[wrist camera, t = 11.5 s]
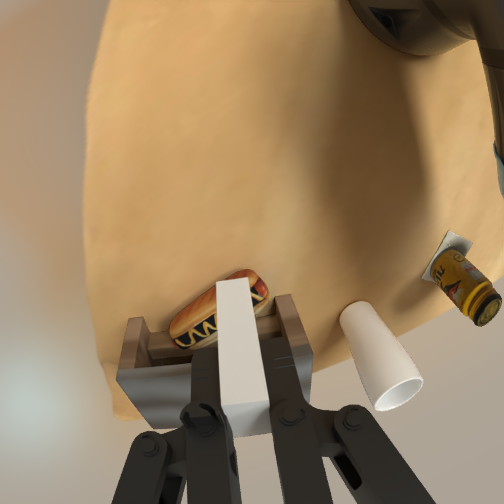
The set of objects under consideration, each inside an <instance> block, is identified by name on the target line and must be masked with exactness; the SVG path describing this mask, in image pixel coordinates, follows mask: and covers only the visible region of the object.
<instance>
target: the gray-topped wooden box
mask: <svg viewBox="0 0 504 504" xmlns="http://www.w3.org/2000/svg"><path fill="white" fill-rule="evenodd" d="M275 304H276V314H275V315H270V316H264V317H258V318H255V322H256V328H257V334H258V340H265V339H271V338H277V337H283V338H284V339H285V340H286V341H287V342H288V344H289V345H290V347H291V351H292V355H293V358H294V362H295V366H296V370H297V374H298V377H299V381H300V385H301V389H302V393H303V396H304V398H305V400H306V401H307V403H308V404H309V401H310V389H311V376H312V363H313V352H312V349H311V347H310V344H309V341H308V339H307V336H306V333H305V331H304V328H303V325H302V323H301V320H300V317H299V315H298V312H297V309H296V307H295V304H294V302H293V299H292V296H291V294H288V295H283V296H277V297H275ZM172 340H173V339H172V338H171V336H170V331H163V332H154V333H150V332H149V329H148V327H147V325H146V322H145V320H144V318H143V317H137V318H129V321H128V325H127V329H126V334H125V338H124V343H123V347H122V352H121V357H120V362H119V367H118V372H117V377H116V381H117V382H118V384H119V385H120V387H121V388H122V389H123V391H124V392H125V393H126V395H127V396H128V398H129V399H130V400H131V402H132V403H133V404H134V406H135V407H136V408H137V410H138V411H139V412H140V413H141V415H142V416H143V417H144V418H145V420H146V421H147V422H148V423H149V425H150V426H151V427H152V428H153V429H170V428H180V427H181V426H182V425H183V423H182V422H181V420H180V418H179V417H180V413H181V411H182V410H183V408H184V407H185V406H186V405H187V404H189V403H191V372H192V371H191V363H187V364H178V365H168V366H165V364H164V361H163V359H162V358H170V357H179V356H188V355H194V354H195V352H196V350H190V349H184V350H183V349H177V348H176V347H175V346H174V345H173V342H172ZM210 347H218V340H217V341H215V342H213V343H211V344H209V345H207V346H205V347H203V348H210ZM200 349H201V348H200Z"/></svg>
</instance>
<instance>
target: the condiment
mask: <svg viewBox="0 0 504 504" xmlns="http://www.w3.org/2000/svg"><path fill="white" fill-rule="evenodd" d="M472 244H473V243H472V242H470V241H468V240H466V239H465V238H463V237H461V236H459V235H457V234H455V233H453V232H451V231H448V233H447V235H446V237H445V238H444V240H443V243H442V244H441V246H440V248H439V249H438V251H437V252H436V254H435V255H434V257H433V259H432V261H431V262H430V264H429V266H428V267H427V269H426V271H425V272H424V274H423V276H422V278H421V279H423V280H427V281H431V282H435V283H437V285H438V286H439V287H440V288H441V289H442V290H443V291H444V292H445V294H446V295H447V296H448V297H449V298H450V299H451V300H452V301H453V303H454V304H455V305H456V306H457V307H458V308H459V310H460V311H461V312H462V313H463V314H464V315H465V316H469V318H470V319H471V320H472V321H473V322H474V324H475V325H477V326H481V327H482V326H483V325H486V324H487V323H488V322H489V321H491V320H492V319H493V318H494V316H495V315H496V314H497V313H498V311H499V309H500V307H501V303H502V298H501V296H500V295H499V294H498V293H497V292H496V290H495V289H494V288H493V287H492V283H491V282H490V281H489V280H488V279H487V278H486V277H485V276H484V275H483V274H482V273H481V272H480V271H479V270H478V269H477V268H476V267H475V266H474V265H473V264H472V263H470V262H469V261H468V260H467V259H466V258H465V256H466V254H467V252H468V251H469V249H470V248H471V246H472ZM449 245H450V246H449Z"/></svg>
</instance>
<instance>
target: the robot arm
mask: <svg viewBox="0 0 504 504" xmlns="http://www.w3.org/2000/svg"><path fill="white" fill-rule="evenodd" d="M349 1H350V3H351V5H352V7H353V9H354V11H355V12H356V14H357V15H358V17H359V18H360V20H361V21H362V22H363V23H364V25H365V26H366V27H367V28H368V29H369V30H370V31H371V32H372V33H373V34H374V35H375V36H376V37H378V38H379V39H380V40H381V41H383V42H384V43H386V44H387V45H389V46H390V47H392V48H394V49H396V50H398V51H401V52H403V53H407V54H411V55H419V56H423V55H439V54H443V53H445V52H447V51H449V50H451V49H453V48H455V47H457V46H459V45H461V44H463V43H465V42H467V41H469V40H477V44H478V47H479V50H480V54H481V58H482V63H483V68H484V72H485V76H486V81H487V86H488V91H489V96H490V102H491V108H492V115H493V123H494V133H495V141H494V144H493V148H494V154H495V157H496V159H497V170H498V182H499V188H500V191H501V194H502V196H503V198H504V0H349ZM216 299H217V329H218V347H210V348H201V349H197V350H196V352H195V354H194V355H193V357H192V363H191V371H192V372H191V403H189V404H187V405H186V406H185V407H184V408H183V410H182V411H181V413H180V417H179V418H180V420H181V422H182V423H183V425H182V426H181V427H180V428H178V429H175V430H173V431H170V432H167V433H164V434H159V433H157V432H155V431H146V432H143V433H141V434H139V435H138V436H137V437H136V438H135V439H134V441H133V443H132V445H131V448H130V451H129V454H128V457H127V459H126V462H125V465H124V468H123V471H122V474H121V477H120V480H119V482H118V486H117V488H116V491H115V494H114V497H113V500H112V503H111V504H181V500H182V496H183V492H184V488H185V484H186V480H187V502H188V504H242V501H241V492H240V484H239V475H238V466H237V456H236V450H235V447H234V442H233V437H234V438H236V437H245V436H252V435H260V434H267V433H272V435H273V441H274V449H275V454H276V460H277V466H278V472H279V478H280V483H281V489H282V495H283V500H284V504H333V500H332V496H331V492H330V488H329V485H328V480H327V476H326V472H325V468H324V465H323V460H322V457H329V458H330V460H331V461H332V463H333V465H334V466H335V468H336V470H337V471H338V473H339V475H340V476H341V478H342V479H343V481H344V483H345V484H346V486H347V488H348V489H349V491H350V493H351V494H352V496H353V497H354V499H355V501H356V502H357V504H436V503H435V502H434V500H433V499H432V497H431V496H430V495H429V493H428V492H427V490H426V489H425V488H424V486H423V485H422V483H421V482H420V481H419V480H418V478H417V477H416V475H415V474H414V473H413V471H412V470H411V468H410V467H409V465H408V464H407V463H406V461H405V460H404V459H403V458H402V456H401V454H400V453H399V452H398V450H397V449H396V448H395V446H394V445H393V443H392V442H391V441H390V439H389V438H388V437H387V435H386V434H385V432H384V431H383V430H382V428H381V427H380V426H379V424H378V423H377V421H376V420H375V419H374V417H373V416H372V414H371V413H370V412H369V411H368V410H367V409H366V408H365V407H362V406H360V405H348V406H344V407H343V408H341V409H340V410H339V411H329V410H320V409H317V408H314V407H312V406H311V405H309V404H308V403H307V401H306V400H305V398H304V396H303V393H302V389H301V385H300V381H299V377H298V374H297V370H296V366H295V362H294V358H293V355H292V351H291V347H290V345H289V344H288V342H287V341H286V340H285V339H284V338H283V337H277V338H271V339H265V340H258V334H257V328H256V322H255V316H254V310H253V304H252V299H251V293H250V287H249V281H248V277H246V278H239V279H232V280H225V281H218V282H216Z"/></svg>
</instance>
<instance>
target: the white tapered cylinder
mask: <svg viewBox="0 0 504 504" xmlns="http://www.w3.org/2000/svg"><path fill="white" fill-rule="evenodd" d="M339 322H340V326H341V328H342V330H343V332H344V334H345V337H346V339H347V342H348V345H349V348H350V350H351V353H352V356H353V359H354V362H355V365H356V367H357V370H358V373H359V376H360V379H361V382H362V384H363V386H364V389H365V391H366V393H367V395H368V398H369V400H370V402H371V403H372V405H373V407H374V409H375V410H377V411H387V410H391V409H393V408H396V407H398V406H400V405H402V404H403V403H405V402H407V401H408V400H410V399H411V398H412V397H413V396H414V395H416V393H418V391H419V390H420V389H421V387H422V385H423V378H422V376H421V374H420V372H419V370H418V369H417V367H416V365H415V363H414V362H413V360H412V358H411V357H410V355H409V354H408V353H407V351H406V350H405V349H404V347H403V346H402V345H401V343H400V342H399V341H398V340H397V338H396V337H395V336H394V334H393V333H392V332H391V331H390V329H389V328H388V327H387V326H386V324H385V323H384V322H383V320H382V319H381V318H380V317H379V315H378V314H377V313H376V311H375V310H374V308H373V307H372V305H371V304H370V303H368V302H365V301H358V302H354V303H352V304H350V305H349V306H347V307H346V308H345V309H344V310H343V312H342V313H341V315H340V319H339Z"/></svg>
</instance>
